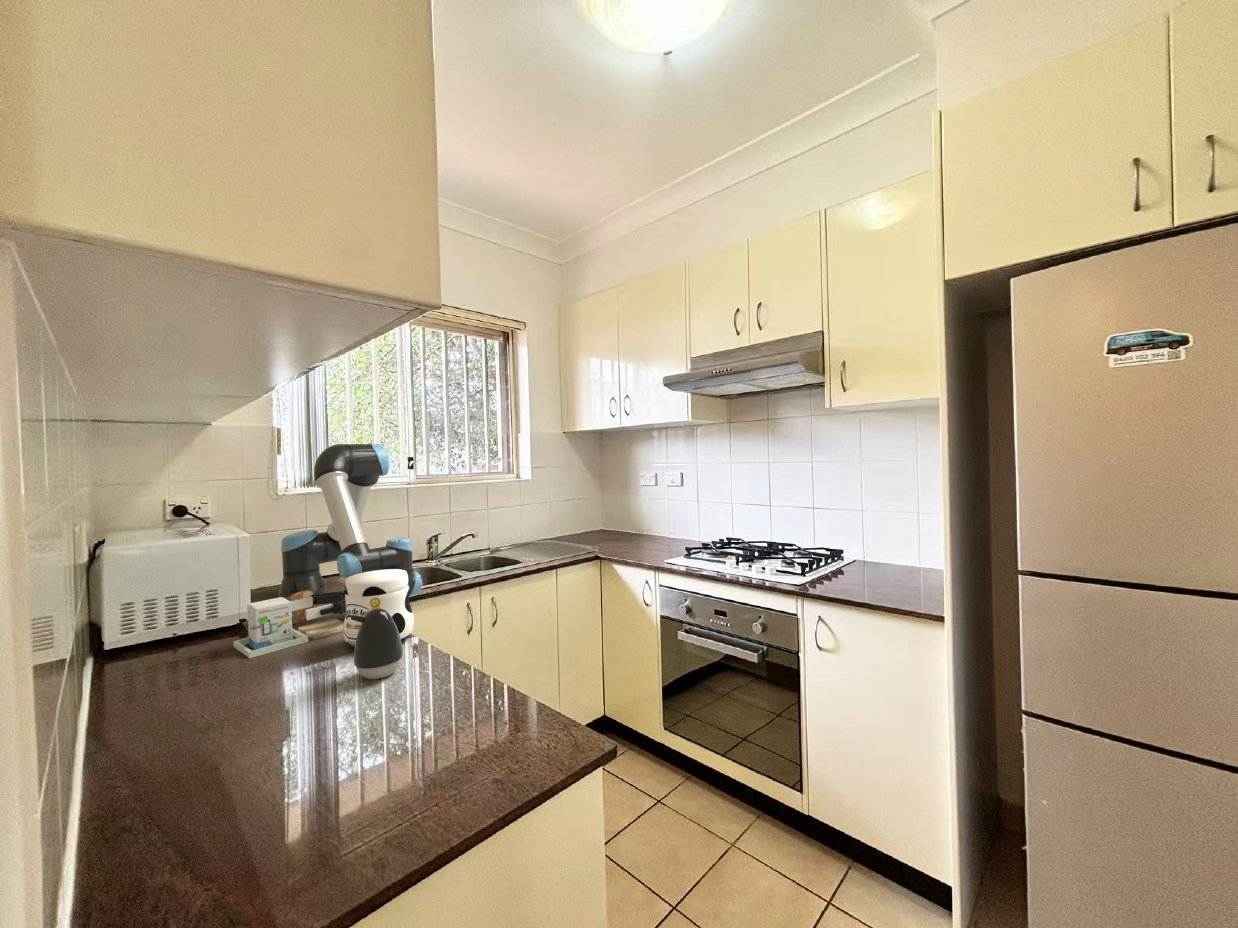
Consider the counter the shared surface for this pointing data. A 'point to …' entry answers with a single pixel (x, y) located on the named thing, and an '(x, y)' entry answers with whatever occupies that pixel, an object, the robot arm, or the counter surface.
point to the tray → (250, 654)
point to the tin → (301, 613)
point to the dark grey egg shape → (377, 645)
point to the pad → (322, 628)
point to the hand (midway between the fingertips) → (296, 611)
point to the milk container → (378, 600)
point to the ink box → (269, 622)
